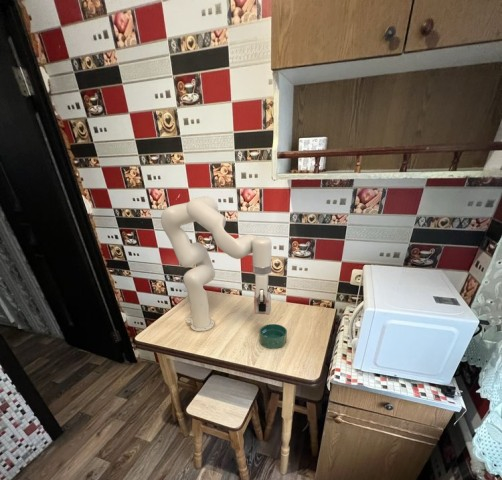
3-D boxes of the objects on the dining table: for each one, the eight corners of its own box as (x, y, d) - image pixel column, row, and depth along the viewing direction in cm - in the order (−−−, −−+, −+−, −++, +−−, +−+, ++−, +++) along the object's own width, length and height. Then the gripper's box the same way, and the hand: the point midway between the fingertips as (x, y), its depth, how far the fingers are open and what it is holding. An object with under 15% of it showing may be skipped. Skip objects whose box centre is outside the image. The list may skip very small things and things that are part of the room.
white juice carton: (256, 309, 126) (255, 289, 121) (270, 310, 125) (270, 290, 119) (254, 313, 123) (253, 292, 118) (269, 314, 122) (269, 293, 116)
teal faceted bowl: (262, 350, 129) (262, 340, 125) (257, 335, 139) (257, 325, 136) (289, 347, 130) (290, 336, 127) (282, 332, 141) (282, 322, 138)
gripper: (254, 262, 120) (255, 300, 130) (251, 276, 106) (252, 317, 116) (271, 262, 120) (271, 300, 130) (270, 276, 106) (270, 318, 116)
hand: (262, 308), depth 123 cm, fingers closed on white juice carton, 4 cm apart
